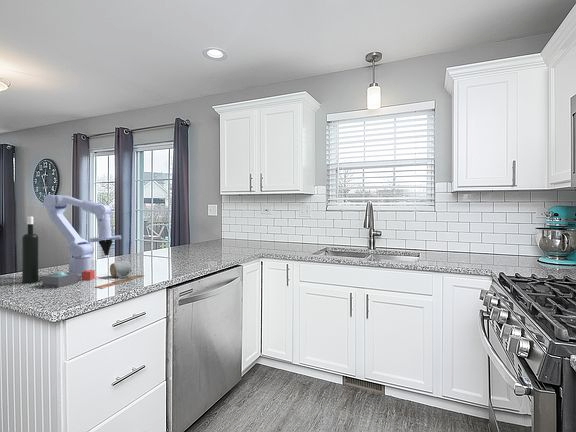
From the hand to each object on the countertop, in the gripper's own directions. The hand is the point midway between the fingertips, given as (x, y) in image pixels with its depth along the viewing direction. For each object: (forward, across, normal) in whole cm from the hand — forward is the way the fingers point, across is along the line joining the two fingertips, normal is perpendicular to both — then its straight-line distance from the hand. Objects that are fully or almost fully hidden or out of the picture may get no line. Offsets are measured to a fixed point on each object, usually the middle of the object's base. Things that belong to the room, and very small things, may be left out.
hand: (106, 255), depth 164 cm
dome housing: (+10, -21, -6) cm, 24 cm away
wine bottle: (+8, -30, +7) cm, 32 cm away
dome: (+8, -21, -6) cm, 24 cm away
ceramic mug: (+12, +4, -6) cm, 14 cm away
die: (+10, -10, -2) cm, 14 cm away
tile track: (+12, +1, -16) cm, 20 cm away
